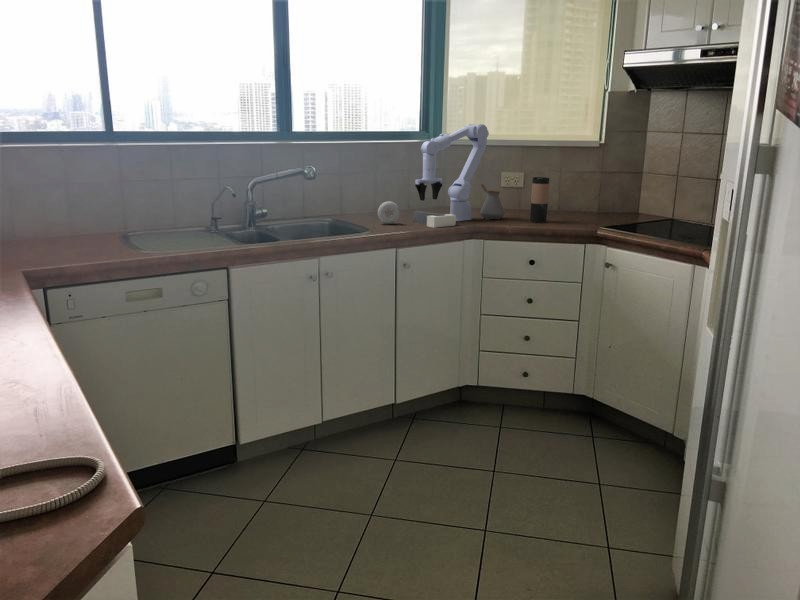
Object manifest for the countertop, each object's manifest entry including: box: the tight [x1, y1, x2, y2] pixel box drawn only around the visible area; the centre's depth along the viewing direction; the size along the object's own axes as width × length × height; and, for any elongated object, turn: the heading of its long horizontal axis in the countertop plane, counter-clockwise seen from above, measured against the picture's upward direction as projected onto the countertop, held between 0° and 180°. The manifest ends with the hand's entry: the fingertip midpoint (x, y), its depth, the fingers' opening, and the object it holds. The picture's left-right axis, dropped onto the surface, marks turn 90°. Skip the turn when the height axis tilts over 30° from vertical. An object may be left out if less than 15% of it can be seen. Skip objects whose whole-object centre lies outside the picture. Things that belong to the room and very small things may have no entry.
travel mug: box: [529, 176, 550, 224], centre depth 304 cm, size 8×8×20 cm
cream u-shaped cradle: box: [426, 213, 457, 229], centre depth 289 cm, size 12×5×4 cm, turn 129°
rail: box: [412, 210, 445, 225], centre depth 295 cm, size 4×16×5 cm, turn 43°
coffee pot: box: [478, 183, 505, 220], centre depth 317 cm, size 21×12×15 cm, turn 14°
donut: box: [377, 200, 401, 225], centre depth 291 cm, size 10×4×10 cm, turn 105°
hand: (428, 199), depth 299 cm, fingers open, 7 cm apart
